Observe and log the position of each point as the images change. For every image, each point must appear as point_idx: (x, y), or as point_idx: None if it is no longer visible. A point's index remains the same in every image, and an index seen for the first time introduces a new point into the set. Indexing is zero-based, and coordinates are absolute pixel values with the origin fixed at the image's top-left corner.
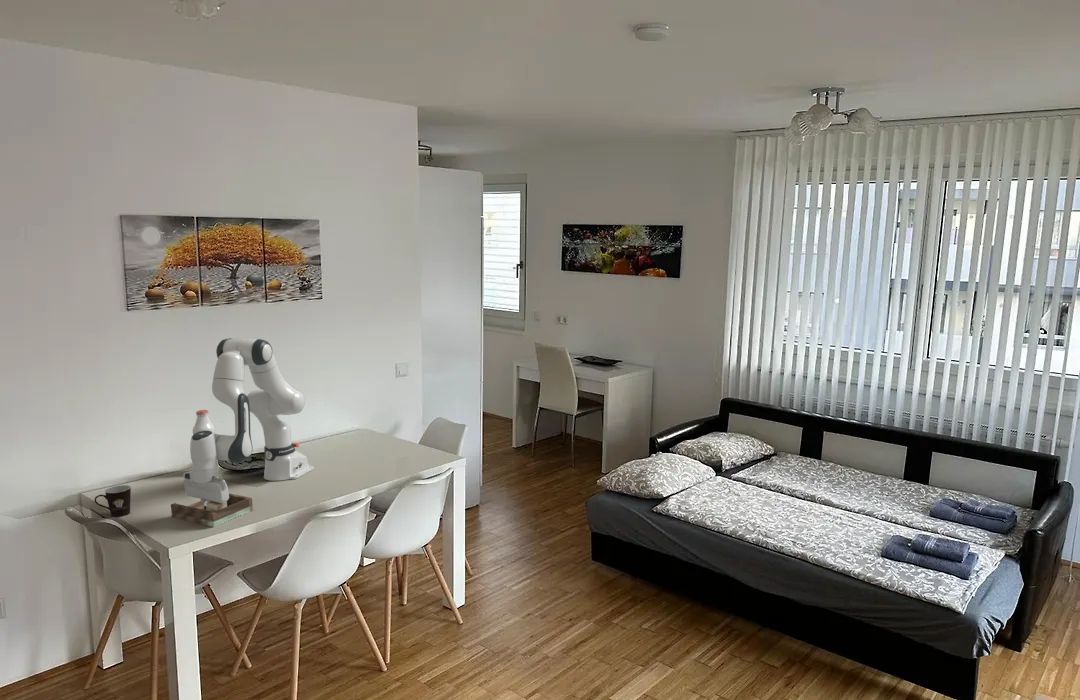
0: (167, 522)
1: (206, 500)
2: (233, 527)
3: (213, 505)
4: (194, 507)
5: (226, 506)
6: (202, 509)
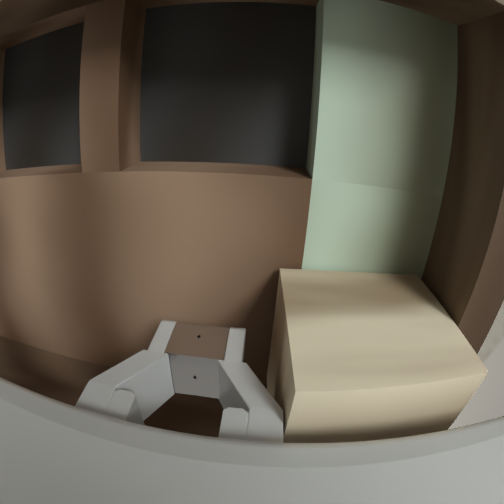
0: None
1: (126, 391)
2: (496, 333)
3: None
4: (1, 255)
5: (455, 331)
6: (77, 267)
